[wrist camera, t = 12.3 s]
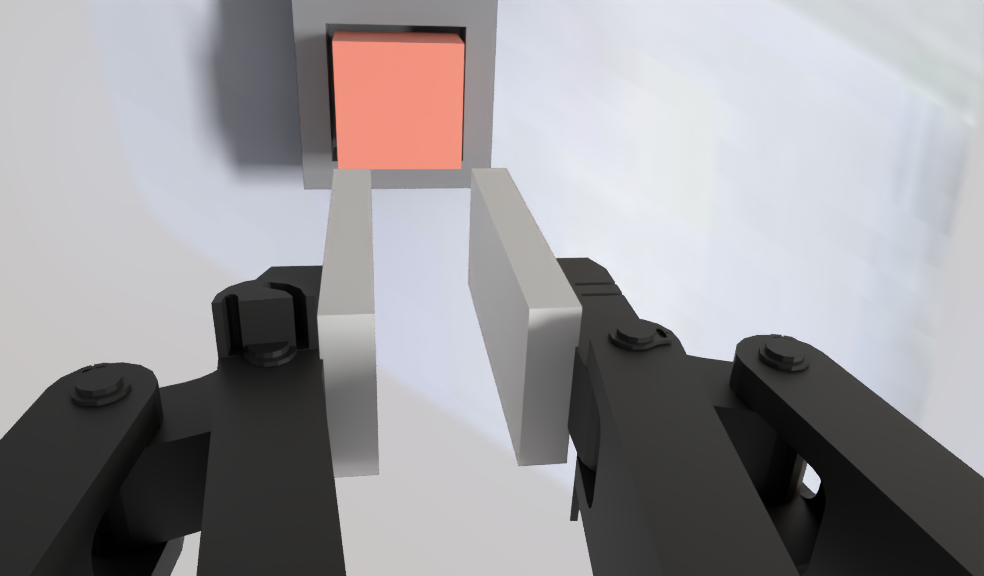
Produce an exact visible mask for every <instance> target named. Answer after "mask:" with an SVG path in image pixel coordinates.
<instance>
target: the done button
mask: <svg viewBox="0 0 984 576" xmlns="http://www.w3.org/2000/svg"><path fill="white" fill-rule="evenodd" d="M332 46H333V67H334V89H335V111H336V132H337V154H338V169H461V161H462V120H463V79H464V43H463V41H462V40H461V38H460V37H459V36H458V34H457V33H427V32H380V31H335V32H334V36H333V40H332Z"/></svg>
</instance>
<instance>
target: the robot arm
mask: <svg viewBox="0 0 984 576" xmlns="http://www.w3.org/2000/svg"><path fill="white" fill-rule="evenodd" d="M468 285H469V289H470V292H471V296H472V300H473V303H474V307H475V310H476V314H477V318H478V321H479V325H480V329H481V332H482V336H483V339H484V343H485V347H486V350H487V354H488V357H489V361H490V365H491V368H492V372H493V375H494V379H495V383H496V386H497V390H498V394H499V397H500V401H501V404H502V408H503V412H504V415H505V419H506V422H507V426H508V430H509V433H510V437H511V440H512V444H513V448H514V451H515V455H516V458H517V462H518V466H530V465H546V464H562V463H567V453H568V444H569V434H570V436H571V438H572V441H573V443H574V446H575V448H576V451H577V461H576V470H575V479H574V488H573V497H572V507H571V516H570V521H577V520H578V512H579V510H580V512H581V517H582V521H583V527H584V532H585V536H586V541H587V546H588V551H589V557H590V561H591V566H592V571H593V576H984V478H983V477H982V476H981V475H979V474H978V473H977V472H975V471H974V470H973V469H972V468H970V467H969V466H968V465H967V464H965V463H964V462H963V461H962V460H960V459H959V458H958V457H956V456H955V455H954V454H953V453H951V452H950V451H948V450H947V449H946V448H945V447H944V446H942V445H941V444H940V443H938V442H937V441H936V440H935V439H933V438H932V437H931V436H929V435H928V434H927V433H926V432H924V431H923V430H922V429H920V428H919V427H918V426H917V425H915V424H914V423H913V422H911V421H910V420H909V419H908V418H906V417H905V416H904V415H902V414H901V413H900V412H899V411H897V410H896V409H895V408H894V407H892V406H891V405H890V404H888V403H887V402H886V401H885V400H883V399H882V398H881V397H879V396H878V395H877V394H876V393H874V392H873V391H872V390H870V389H869V388H868V387H867V386H865V385H864V384H863V383H861V382H860V381H859V380H858V379H856V378H855V377H854V376H852V375H851V374H850V373H849V372H847V371H846V370H845V369H843V368H842V367H841V366H840V365H838V364H837V363H836V362H834V361H833V360H832V359H831V358H829V357H828V356H827V355H825V354H824V353H823V352H821V351H820V350H818V349H816V348H814V347H813V346H811V345H809V344H807V343H804V342H801V341H798V340H796V339H795V338H793V337H789V336H784V337H782V335H776V334H771V335H756V336H752V337H748V338H744V339H743V340H742V341H741V342H739V343H738V344H737V346H736V351H735V356H734V361H733V362H730V361H722V360H715V359H707V358H701V357H696V356H690V355H687V354H686V352H685V350H684V348H683V346H682V344H681V342H680V340H679V339H678V338H677V337H676V336H675V334H674V333H673V332H672V331H670V330H669V329H667V328H665V327H663V326H661V325H659V324H657V323H653V322H650V321H646V320H643V319H639V317H638V316H637V314H636V313H635V311H634V310H633V308H632V307H631V305H630V304H629V302H628V301H627V299H626V298H625V296H624V295H622V292H621V290H620V289H619V287H618V286H617V284H615V281H614V280H613V278H612V277H611V275H610V274H609V272H608V271H607V270H606V268H604V267H602V266H601V265H599V264H597V263H596V262H594V261H592V260H591V259H589V258H555V256H554V254H553V253H552V251H551V249H550V247H549V245H548V243H547V242H546V240H545V238H544V236H543V234H542V232H541V231H540V229H539V227H538V225H537V223H536V221H535V220H534V218H533V216H532V214H531V212H530V210H529V209H528V207H527V205H526V203H525V201H524V199H523V198H522V196H521V194H520V192H519V190H518V188H517V187H516V185H515V183H514V181H513V179H512V177H511V176H510V174H509V172H508V170H507V168H472V170H471V203H470V236H469V269H468ZM211 304H212V312H213V320H214V327H215V334H216V343H217V351H218V367H217V370H216V371H214V372H213V373H210V374H208V375H206V376H203V377H201V378H198V379H195V380H191V381H188V382H185V383H180V384H175V385H170V386H166V387H161V388H159V386H158V380H157V378H156V376H155V375H154V373H153V371H151V370H149V369H147V368H145V367H143V366H141V365H137V364H130V363H101V364H95V365H94V366H91V365H90V366H87V367H84V368H81V369H79V370H77V371H75V372H73V373H70V374H68V375H66V376H64V377H61V378H60V379H59V380H57V381H56V382H55V383H53V384H52V385H51V386H50V387H48V388H47V389H46V390H45V391H44V392H43V394H42V395H41V396H40V397H39V398H38V399H37V400H36V401H35V402H34V403H33V405H32V406H31V407H30V408H29V409H28V410H27V411H26V412H25V413H24V414H23V416H22V417H21V418H20V419H19V420H18V421H17V422H16V423H15V424H14V426H13V427H12V428H11V429H10V430H9V431H8V432H7V433H6V434H5V435H4V437H3V438H2V439H1V440H0V576H170V575H171V572H172V571H173V568H174V566H175V564H176V562H177V560H178V558H179V556H180V553H181V551H182V547H183V541H184V536H185V535H189V534H192V533H195V532H199V531H201V537H200V547H199V557H198V566H197V576H346V571H345V563H344V554H343V546H342V539H341V531H340V530H341V529H340V521H339V513H338V505H337V497H336V489H335V480H334V478H336V477H353V476H367V475H368V476H369V475H379V456H378V419H377V384H376V383H377V381H376V344H375V307H374V270H373V234H372V197H371V169H334V173H333V181H332V190H331V199H330V208H329V217H328V225H327V234H326V243H325V252H324V260H323V266H281V267H271V268H269V269H268V270H267V271H266V272H264V273H263V274H262V275H261V276H259V277H258V278H257V279H256V280H251V281H245V282H242V283H239V284H236V285H233V286H230V287H228V288H226V289H224V290H223V291H221V292H220V293H218V294H217V295H216V296H215V298H214V300H213V301H212V303H211ZM807 463H808V464H809V465H810V466H811V467H812V468H813V469H814V470H815V472H816V473H817V474H818V476H819V477H820V480H821V483H820V487H819V490H818V492H817V494H815V493H813V492H812V491H811V490H810V489H809V488H808V487H807V486H806V485H805V484H804V483H803V482H802V481H803V477H804V474H805V470H806V466H807Z"/></svg>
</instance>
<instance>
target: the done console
mask: <svg viewBox="0 0 984 576" xmlns="http://www.w3.org/2000/svg"><path fill="white" fill-rule="evenodd" d="M497 5H498V0H292V13H293V29H294V44H295V59H296V74H297V89H298V104H299V119H300V134H301V149H302V164H303V179H304V189H332V181H333V173H334V169H338V154H337V132H336V111H335V89H334V67H333V46H332V40H333V36H334V32H335V31H380V32H427V33H457V34H458V36H459V37H460V38H461V40H462V41H463V43H464V79H463V120H462V161H461V169H371V189H416V188H471V170H472V168H491V150H492V126H493V102H494V77H495V53H496V29H497Z"/></svg>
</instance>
